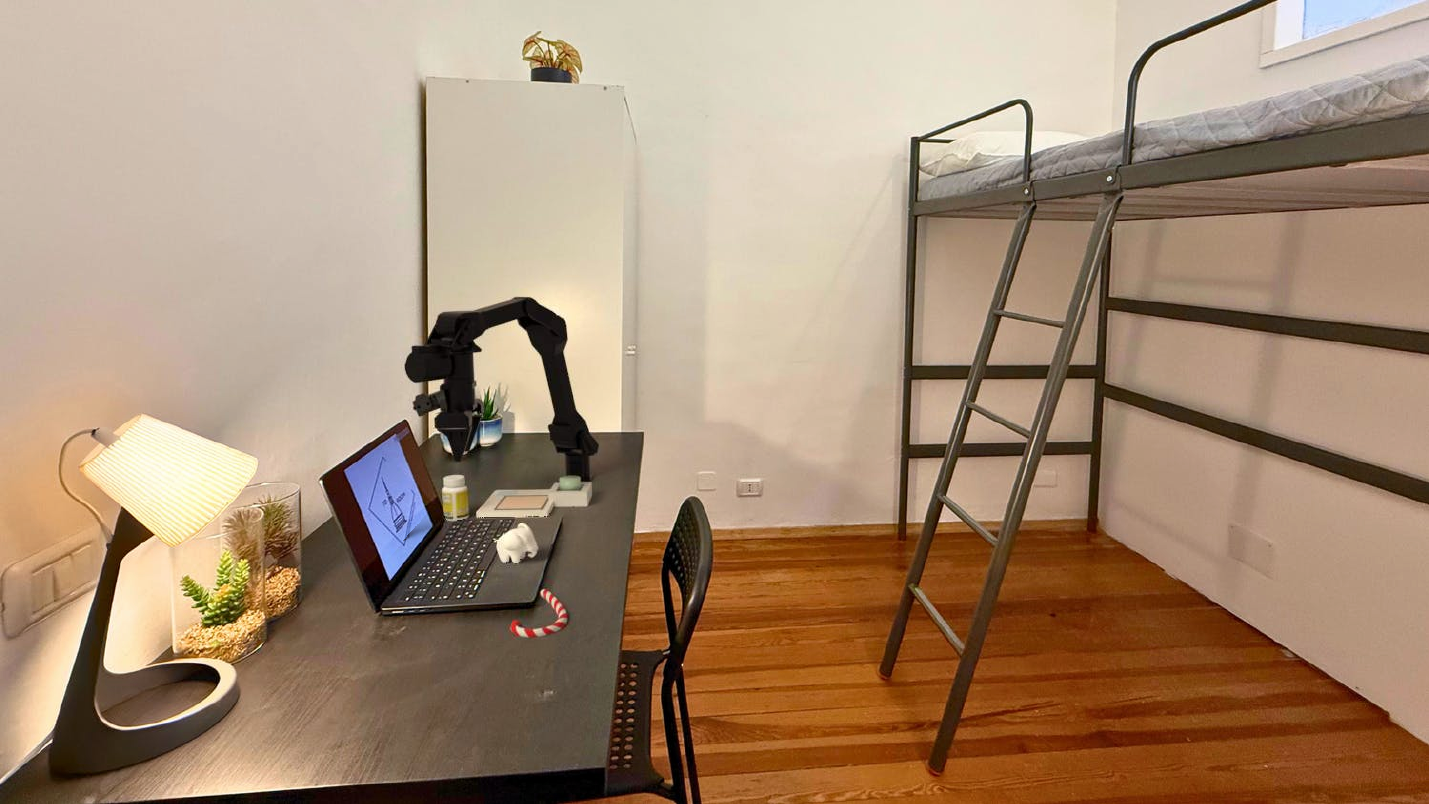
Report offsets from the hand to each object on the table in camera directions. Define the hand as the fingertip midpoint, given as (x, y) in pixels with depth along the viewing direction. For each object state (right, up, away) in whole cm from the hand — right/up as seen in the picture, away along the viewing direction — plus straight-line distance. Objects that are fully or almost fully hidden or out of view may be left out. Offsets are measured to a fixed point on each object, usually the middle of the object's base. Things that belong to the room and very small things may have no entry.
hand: (462, 456), depth 160 cm
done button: (+19, -8, +13) cm, 24 cm away
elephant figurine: (+16, -17, -21) cm, 31 cm away
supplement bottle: (-2, -13, +2) cm, 13 cm away
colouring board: (+9, -11, +10) cm, 18 cm away
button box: (+19, -10, +14) cm, 25 cm away
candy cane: (+24, -21, -42) cm, 52 cm away
